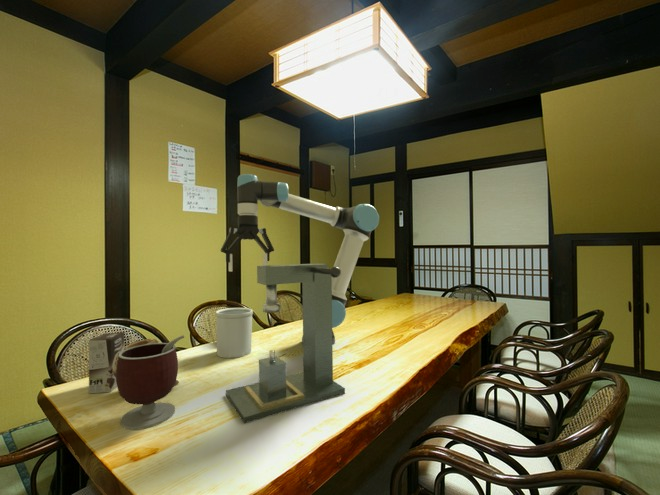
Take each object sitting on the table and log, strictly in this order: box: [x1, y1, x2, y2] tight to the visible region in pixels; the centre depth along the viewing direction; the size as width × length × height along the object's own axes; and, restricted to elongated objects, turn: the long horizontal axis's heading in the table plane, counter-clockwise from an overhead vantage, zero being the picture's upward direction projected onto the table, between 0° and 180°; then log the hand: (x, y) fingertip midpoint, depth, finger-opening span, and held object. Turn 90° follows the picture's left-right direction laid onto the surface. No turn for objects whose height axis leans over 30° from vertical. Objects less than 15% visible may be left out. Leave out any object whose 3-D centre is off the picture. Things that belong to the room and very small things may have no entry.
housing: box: [258, 349, 287, 400], centre depth 92 cm, size 6×7×12 cm
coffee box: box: [88, 331, 125, 394], centre depth 101 cm, size 9×6×16 cm
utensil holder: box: [215, 307, 254, 359], centre depth 133 cm, size 15×15×18 cm
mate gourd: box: [116, 334, 185, 431], centre depth 83 cm, size 16×14×20 cm
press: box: [225, 263, 346, 424], centre depth 91 cm, size 30×26×38 cm
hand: (248, 270), depth 123 cm, fingers open, 13 cm apart
